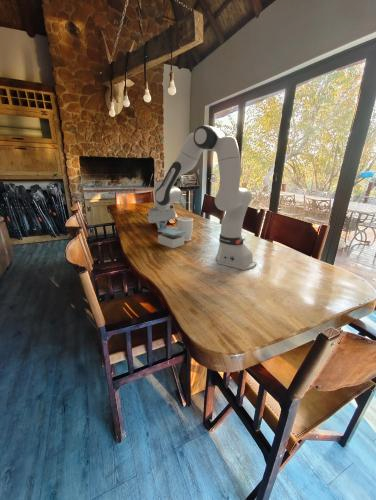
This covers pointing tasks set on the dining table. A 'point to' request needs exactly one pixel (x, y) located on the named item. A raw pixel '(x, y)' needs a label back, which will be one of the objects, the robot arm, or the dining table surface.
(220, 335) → the dining table surface
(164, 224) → the lid
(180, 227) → the jar
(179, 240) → the tub
